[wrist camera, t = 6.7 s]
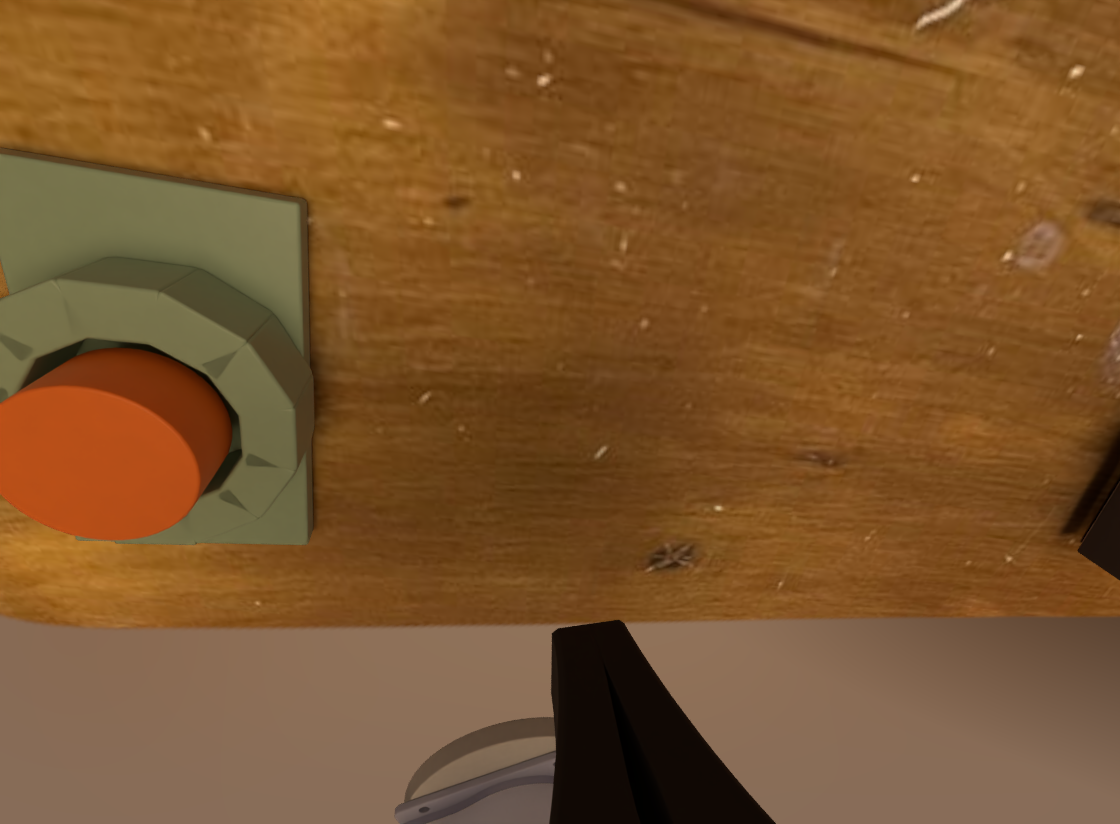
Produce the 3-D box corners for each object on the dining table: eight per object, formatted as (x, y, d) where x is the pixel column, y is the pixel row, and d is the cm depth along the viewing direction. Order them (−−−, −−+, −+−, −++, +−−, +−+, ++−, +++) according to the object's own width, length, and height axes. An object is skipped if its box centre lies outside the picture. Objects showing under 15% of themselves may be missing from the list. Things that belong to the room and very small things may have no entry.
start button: (239, 489, 13) (208, 543, 12) (66, 483, 12) (5, 539, 11) (226, 356, 12) (188, 395, 10) (27, 336, 11) (-52, 376, 9)
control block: (322, 529, 17) (301, 596, 15) (81, 522, 15) (13, 597, 13) (319, 200, 13) (288, 219, 10) (-18, 143, 11) (-149, 149, 9)
